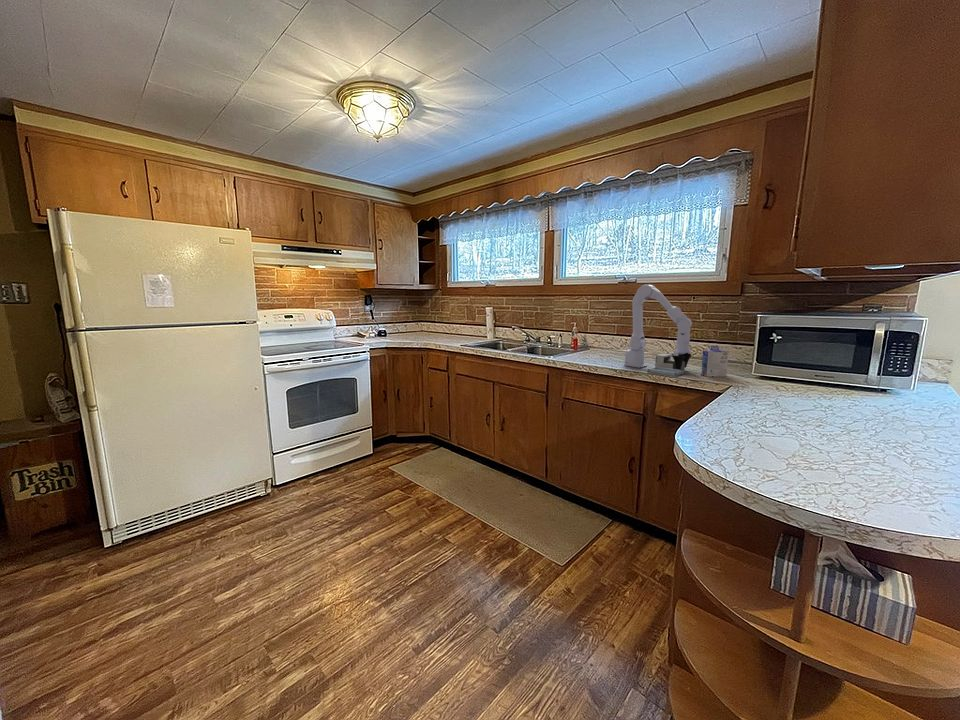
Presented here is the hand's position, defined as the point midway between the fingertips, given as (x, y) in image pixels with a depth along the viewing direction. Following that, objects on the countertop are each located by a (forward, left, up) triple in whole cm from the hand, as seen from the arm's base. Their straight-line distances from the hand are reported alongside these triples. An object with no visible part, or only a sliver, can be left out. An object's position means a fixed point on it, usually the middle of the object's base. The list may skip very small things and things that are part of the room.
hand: (680, 368), depth 200 cm
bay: (-7, 0, -1) cm, 7 cm away
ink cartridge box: (+16, 0, -2) cm, 16 cm away
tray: (-2, -12, -1) cm, 12 cm away
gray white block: (-4, 0, -2) cm, 4 cm away
